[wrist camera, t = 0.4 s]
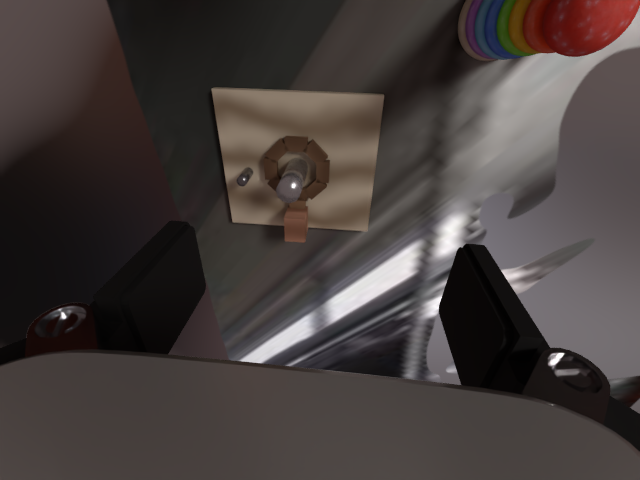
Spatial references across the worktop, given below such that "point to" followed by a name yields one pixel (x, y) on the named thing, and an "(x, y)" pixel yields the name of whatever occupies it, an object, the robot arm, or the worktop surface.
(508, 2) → the stacking toy
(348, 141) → the board
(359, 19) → the worktop surface
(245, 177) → the grey cylinder
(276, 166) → the ring with handle
